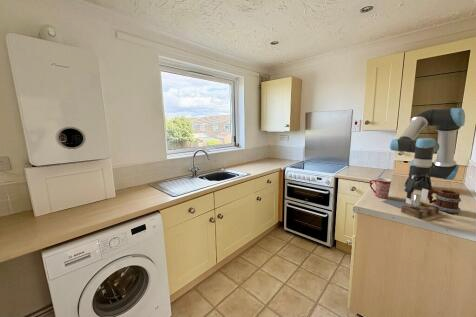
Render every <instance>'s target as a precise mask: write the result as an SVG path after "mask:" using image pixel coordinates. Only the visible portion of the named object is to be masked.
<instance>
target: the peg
mask: <svg viewBox="0 0 476 317" xmlns="http://www.w3.org/2000/svg"><path fill="white" fill-rule="evenodd" d="M421 200H422V199H421V194H415V193H414V194H413V201H412V209H415V210H419V205H420V202H421Z"/></svg>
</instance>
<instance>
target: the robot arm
mask: <svg viewBox="0 0 476 317" xmlns="http://www.w3.org/2000/svg"><path fill="white" fill-rule="evenodd" d="M465 122H466V114H465V110H464V108H460V107H457V108H456V107H455V108H454V107H451V108H435V109H434V108H433V109H432V108H431V109H426V110H424V111H421V112H419V113H417V114H415V115H414V116H413V117H412V118H411V119H410V120H409V125H408V126H407V128H405V130H404V131H403V133H402V134H401V135H400V137H398V138H394V139H392V140H391V141H390V142H389V149H390V150H391V151H395V152H403V153H405V152H406V153H413V155H414V157H413V159H412V160H411V161H410V163H409V171H408V177H407V178H406V180H405V183H404V187H405V189H404V192H405V193H406V198H405V202H406V203H408V204H413V198H414V194H415V193H414V191H415V190H417V191H421V194H420V195H421V199H420V200H422V201H428V191H429V190H431V188H432V187H433V186H432V179H431V178H435V179H442V180H450V181H453V180H455V178H456V176H457V174H458V172H459V168H460V165H459V164H457V161H456V160H455V159H454V158H455V149H456V140H457V131H458V130H460V129H461V127H464V125H465ZM426 127H435V130H436V131H437V132H438V133H437V135H438V136H437V141H436V139H435V138H430V137H428V138H426V137H422V138H421V137H419V138H418V136H419V134H420V133H421V131H422V130H423V129H424V128H426ZM416 138H418V139H416ZM435 153H436V159H434V160H433V156H434V154H435Z"/></svg>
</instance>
